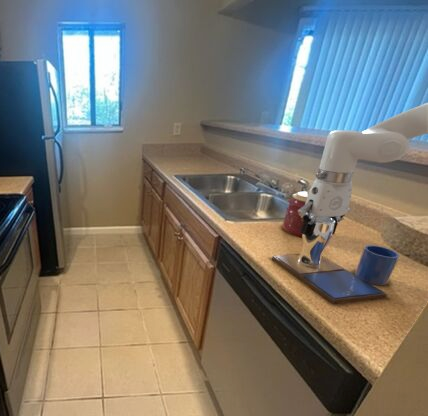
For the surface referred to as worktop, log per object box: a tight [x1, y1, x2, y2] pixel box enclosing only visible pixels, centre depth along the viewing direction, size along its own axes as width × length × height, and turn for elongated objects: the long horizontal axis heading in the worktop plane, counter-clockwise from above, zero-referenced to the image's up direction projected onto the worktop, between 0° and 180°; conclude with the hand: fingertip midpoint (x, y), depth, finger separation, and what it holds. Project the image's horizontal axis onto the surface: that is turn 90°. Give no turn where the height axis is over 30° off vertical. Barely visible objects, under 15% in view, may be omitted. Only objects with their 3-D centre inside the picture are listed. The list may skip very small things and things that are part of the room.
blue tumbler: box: [354, 244, 400, 286], centre depth 79 cm, size 7×7×9 cm
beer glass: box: [297, 215, 335, 267], centre depth 84 cm, size 7×7×15 cm
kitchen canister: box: [282, 188, 313, 238], centre depth 107 cm, size 13×13×18 cm
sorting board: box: [271, 253, 388, 305], centre depth 81 cm, size 16×22×1 cm
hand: (317, 233), depth 83 cm, fingers closed on beer glass, 7 cm apart
